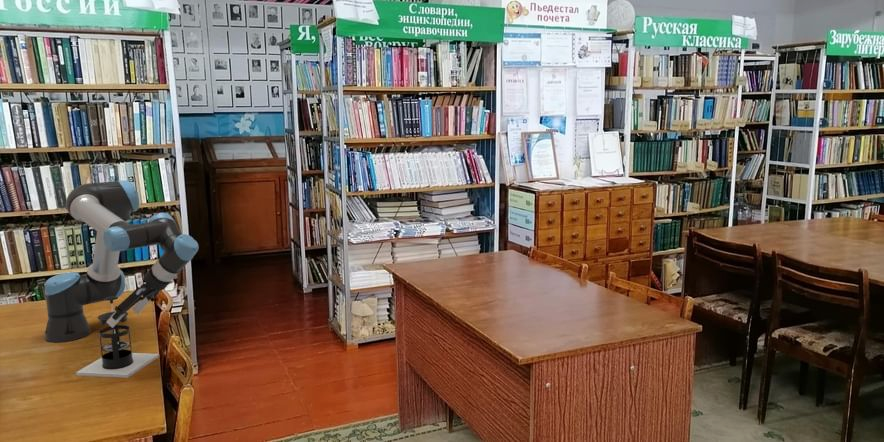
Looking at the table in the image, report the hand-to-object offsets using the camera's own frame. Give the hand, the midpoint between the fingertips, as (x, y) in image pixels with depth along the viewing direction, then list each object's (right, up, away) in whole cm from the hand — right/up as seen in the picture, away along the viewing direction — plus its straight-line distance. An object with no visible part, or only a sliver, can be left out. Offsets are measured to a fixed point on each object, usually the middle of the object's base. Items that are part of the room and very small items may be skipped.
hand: (122, 317), depth 215 cm
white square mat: (-3, -17, +4) cm, 17 cm away
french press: (-3, -16, +3) cm, 17 cm away
